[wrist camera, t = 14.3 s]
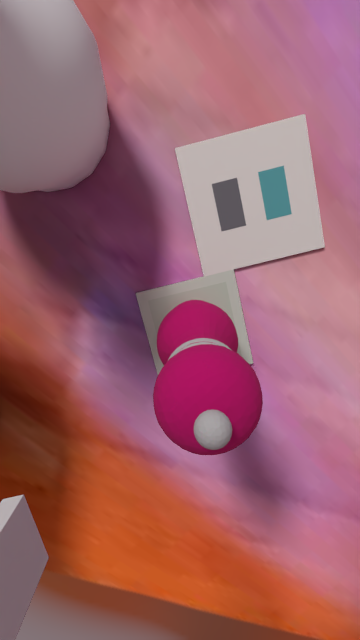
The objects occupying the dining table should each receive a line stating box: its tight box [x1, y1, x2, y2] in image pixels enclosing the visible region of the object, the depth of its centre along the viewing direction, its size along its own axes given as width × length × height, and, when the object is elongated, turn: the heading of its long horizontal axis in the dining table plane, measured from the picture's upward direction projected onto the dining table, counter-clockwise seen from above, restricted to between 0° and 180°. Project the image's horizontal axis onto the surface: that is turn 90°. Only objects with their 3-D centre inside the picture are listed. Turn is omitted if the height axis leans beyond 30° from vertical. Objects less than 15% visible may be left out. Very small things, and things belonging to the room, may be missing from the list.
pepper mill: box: [153, 300, 263, 455], centre depth 24 cm, size 7×7×20 cm
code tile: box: [175, 114, 325, 276], centre depth 32 cm, size 12×12×1 cm
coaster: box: [136, 269, 253, 375], centre depth 34 cm, size 10×10×1 cm
